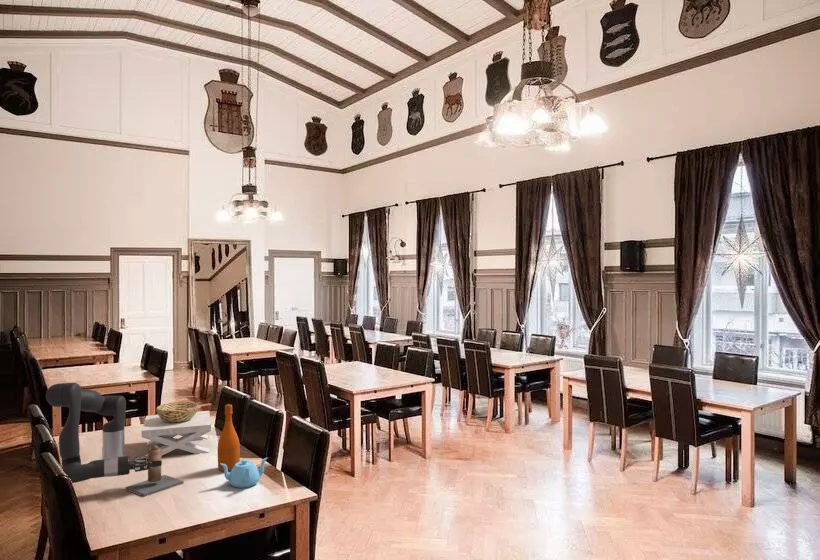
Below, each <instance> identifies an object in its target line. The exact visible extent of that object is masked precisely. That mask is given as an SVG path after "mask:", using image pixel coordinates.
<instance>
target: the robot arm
mask: <svg viewBox="0 0 820 560" xmlns="http://www.w3.org/2000/svg"><path fill="white" fill-rule="evenodd" d="M45 399H46V401H47V404H48V405H50V406H51V407H55V408H61V407H62V408H63V407H64V408H68V410H69V411H68V417H67V420H66V422H65V424H64V426H63V427H62V429H61V430H60V433H59V435H58V436H59V437H58V447H59V448H58V450H59V456H60V458H61V470H62V469H63V471H64V472H65V473H66V474H67V475H68V477H69V478H70V479H71V481H72V483H71V484H77V483H81V482H84V481H89V480H91V479H98V478H110V477H118V476H119V477H120V476H127V475H130V473H131V471H130V470H133V471H134V472H136V473H138V472H144V471H148V470H149V469H150V468H152V467H157V466H161V467H162V464H163V462H162V459H161V460H159V461H148V456H145V455H143V456H142V455H141V456H134V459H130V458H131V457H130V456H129V455H125V454H126V453H125V451H126V450H125V449H126V448H125V446H126V445H125V444H126V442H125V440H126V439H125V438H126V436H125V426H126V425H125V424H126V409H127V401H126V398H125V396H123V395H102V394H101V393H100V392H98V391H97V390H92V389H88V388H87V389H86V388H81V386H80V384H78V383H77V382H64V383H60V382H59V383H56V384H52V385H50V386H49V388H48V389H47V390H46V393H45ZM81 411H82V412H85V413H97V414H98V415H101V416H104V417H106V416H107V417H109V416H111V417H113V416H114V417H113V420H112V421H108V422H106V423H104V424H103V425H102V449H101V450H102V451H101V452H102V453H101V455H102V457H101V459H96V460H91V461H89V462H88V463H82V459H81V454H80V434H79V433H80V432H79V429H80V420H81V419H80V418H81Z"/></svg>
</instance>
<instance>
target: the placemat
mask: <svg viewBox="0 0 820 560" xmlns="http://www.w3.org/2000/svg"><path fill="white" fill-rule="evenodd" d="M184 482H185V481H184V480H181V479H178V478H175V477H173V476H169V475H167V474H161V480H160V481H157V482H148V479H146V480H144V481H141V482H137V483H134V484H131V485H128V486H125V489H124V490H126V489H127V490H126V491H128V490H130V491H129V492H131V491H132V492H131V493H133V492H135V493H134V494H136V493H137V494H136V495H139V494H140V496H141V495H142V497H147V495H148V496H151V495H153V494H156V493H159V492H162V491H165V490H169V489H171V488H174V487H176V486H180V485H182V484H184Z"/></svg>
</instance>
